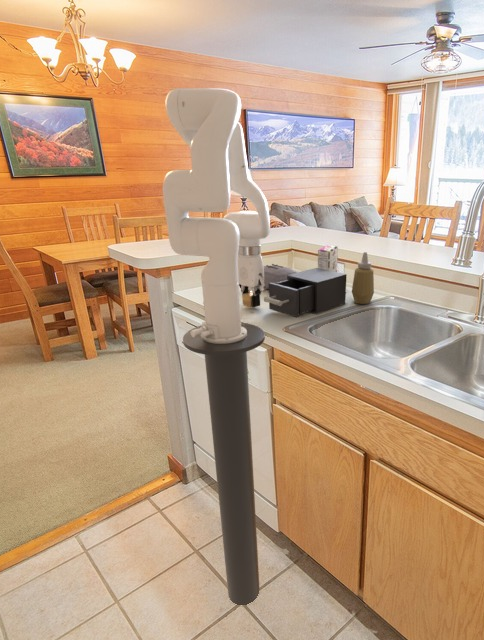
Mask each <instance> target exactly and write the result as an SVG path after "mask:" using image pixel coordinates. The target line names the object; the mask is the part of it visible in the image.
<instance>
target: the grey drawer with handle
mask: <svg viewBox="0 0 484 640" xmlns="http://www.w3.org/2000/svg"><path fill="white" fill-rule="evenodd" d="M263 301H264V302H265V303H268V309H270V310H272V311H275V312H278V313H281V314H284V315H286V316H287V315H288V316H290V317H293V318H299V317H300V315H301V314H305V313H307V312H308V311H310V310H313V309H315V284H311V283H307V282H303V281H299V280H295V279H289V280H285V281H281V282H277V283H276V284H275V283H269V289H268V296H264V297H263Z"/></svg>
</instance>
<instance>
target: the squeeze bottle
mask: <svg viewBox="0 0 484 640" xmlns="http://www.w3.org/2000/svg"><path fill="white" fill-rule="evenodd" d="M374 281H375V278H374V270H373V269H372V262H370V261H369V257H368V252H367V251H364V252H363V253H362V257H361V260H360V261H358V262H357V267H356V268H355V269H354V273H353V281H352V287H351V295H352V298H353V302H354V303H355V304H360V305H361V304H362V305H367V304H370V303H371V300H372V299H373V297H374V294H375V282H374Z"/></svg>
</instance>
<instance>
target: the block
mask: <svg viewBox="0 0 484 640" xmlns="http://www.w3.org/2000/svg"><path fill="white" fill-rule="evenodd" d="M252 295H253V292H252V291H250V292H249V293H245V294H243V298H242V305H243V306H245V307H248V308H253V307H252Z"/></svg>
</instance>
